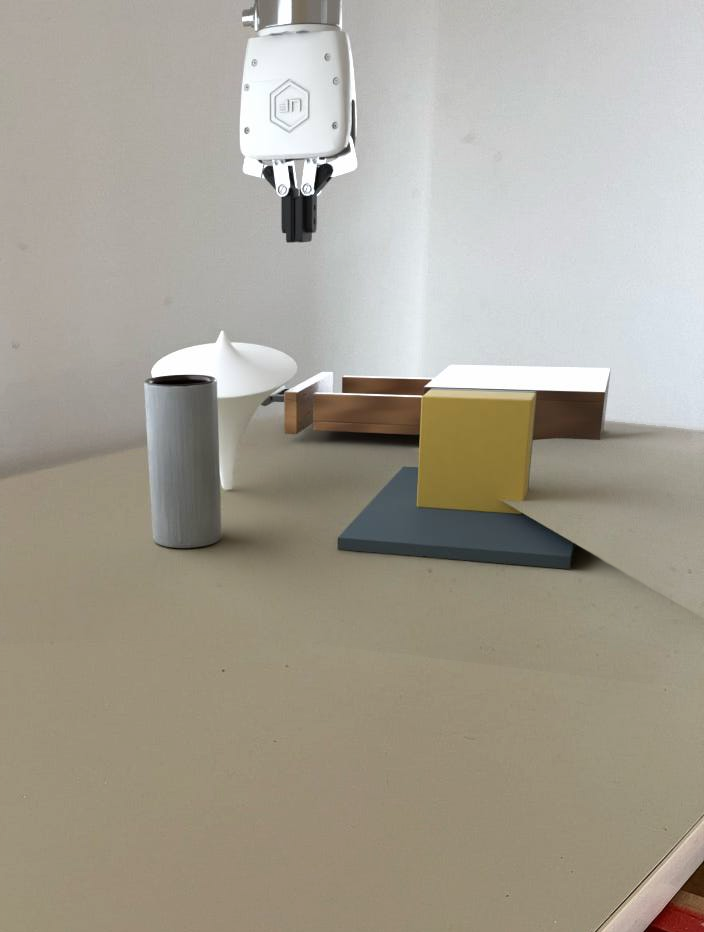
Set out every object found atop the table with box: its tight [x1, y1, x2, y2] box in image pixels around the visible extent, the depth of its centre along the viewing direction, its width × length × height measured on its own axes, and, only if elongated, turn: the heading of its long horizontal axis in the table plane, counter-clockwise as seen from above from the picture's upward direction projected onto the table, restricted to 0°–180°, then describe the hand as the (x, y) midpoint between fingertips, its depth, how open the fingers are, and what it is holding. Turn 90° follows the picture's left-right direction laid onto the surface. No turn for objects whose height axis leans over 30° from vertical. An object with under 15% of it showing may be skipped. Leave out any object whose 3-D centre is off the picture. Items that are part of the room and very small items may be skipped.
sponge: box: [417, 388, 537, 514], centre depth 69 cm, size 7×4×8 cm, turn 69°
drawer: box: [260, 371, 435, 436], centre depth 97 cm, size 17×12×4 cm
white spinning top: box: [151, 330, 298, 491], centre depth 77 cm, size 10×11×12 cm
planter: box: [143, 374, 222, 549], centre depth 66 cm, size 4×4×10 cm
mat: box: [336, 465, 576, 570], centre depth 71 cm, size 20×14×1 cm
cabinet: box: [424, 364, 612, 441], centre depth 92 cm, size 15×14×6 cm
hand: (299, 241), depth 98 cm, fingers closed
